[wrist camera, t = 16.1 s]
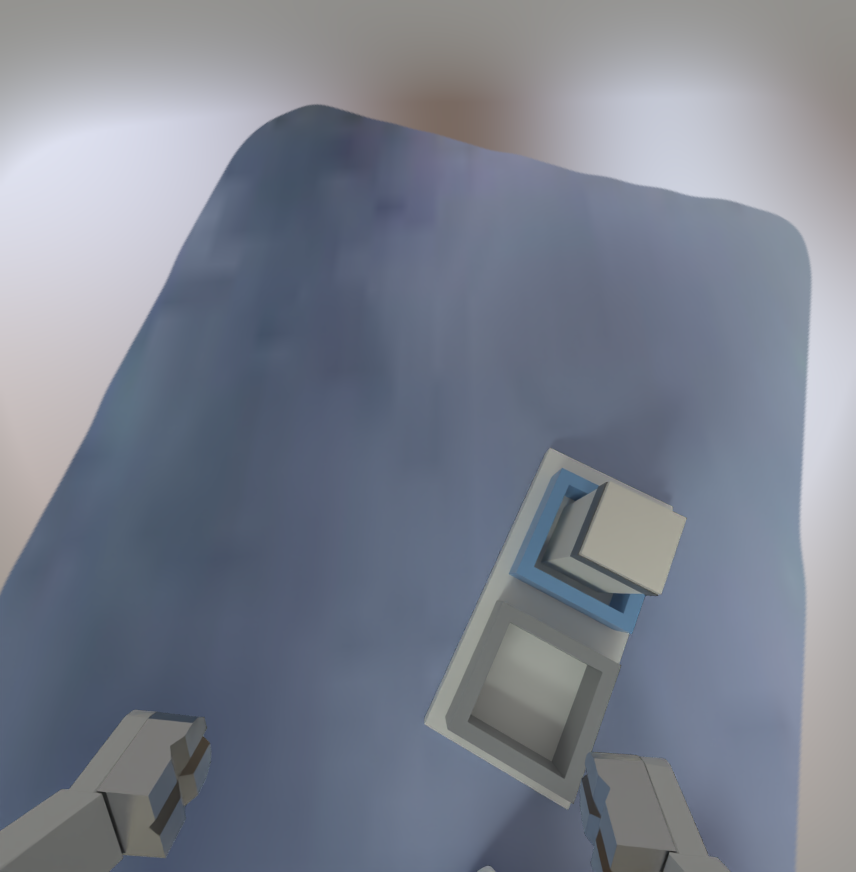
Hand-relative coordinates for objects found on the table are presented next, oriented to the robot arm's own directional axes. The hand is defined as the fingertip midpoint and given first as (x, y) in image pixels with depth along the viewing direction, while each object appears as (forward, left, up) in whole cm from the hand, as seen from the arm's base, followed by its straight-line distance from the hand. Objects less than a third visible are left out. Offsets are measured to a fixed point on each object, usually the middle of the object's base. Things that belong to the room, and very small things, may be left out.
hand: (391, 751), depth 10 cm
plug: (+10, -7, -19) cm, 23 cm away
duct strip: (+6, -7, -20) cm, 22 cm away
